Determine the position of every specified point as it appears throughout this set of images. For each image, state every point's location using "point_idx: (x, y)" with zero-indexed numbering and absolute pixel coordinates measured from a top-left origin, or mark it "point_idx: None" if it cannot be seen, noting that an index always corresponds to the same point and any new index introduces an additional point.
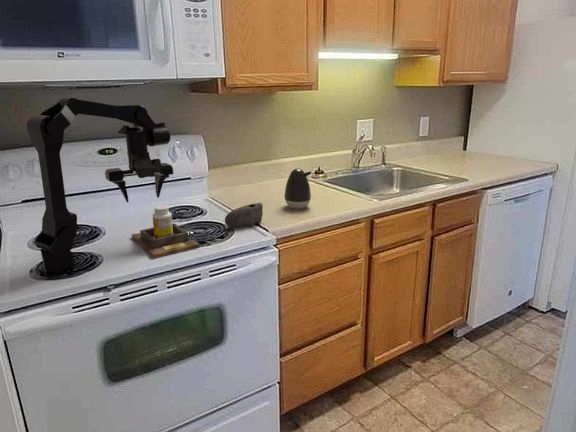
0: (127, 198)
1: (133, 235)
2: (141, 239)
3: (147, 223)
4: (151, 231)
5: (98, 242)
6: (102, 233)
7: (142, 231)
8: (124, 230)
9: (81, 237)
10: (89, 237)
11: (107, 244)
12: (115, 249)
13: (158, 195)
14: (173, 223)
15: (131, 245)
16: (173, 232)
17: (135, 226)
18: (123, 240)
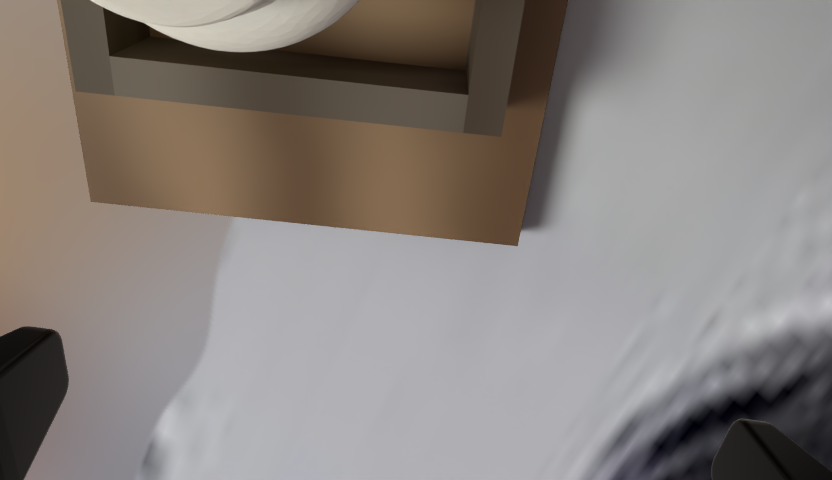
0: (812, 477)
1: (516, 215)
2: (515, 56)
3: (271, 432)
4: (387, 77)
5: (767, 307)
6: (630, 448)
7: (503, 75)
8: (479, 408)
9: None
10: None
11: (751, 220)
12: (788, 51)
13: (3, 350)
14: (87, 91)
15: (624, 46)
16: None
17: (374, 431)
18: (603, 218)
